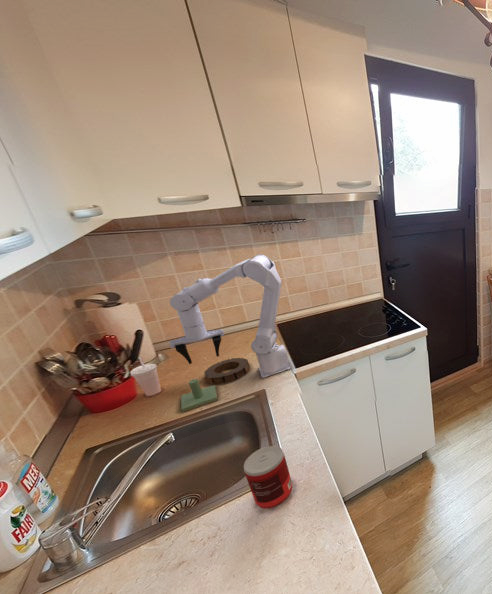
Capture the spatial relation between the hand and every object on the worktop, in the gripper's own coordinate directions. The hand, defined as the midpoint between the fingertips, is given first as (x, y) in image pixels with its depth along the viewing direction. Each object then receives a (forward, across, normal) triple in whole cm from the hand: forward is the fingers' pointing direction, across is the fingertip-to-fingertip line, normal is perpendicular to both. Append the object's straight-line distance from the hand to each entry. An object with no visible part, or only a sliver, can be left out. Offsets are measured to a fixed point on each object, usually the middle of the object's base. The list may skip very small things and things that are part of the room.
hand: (204, 358), depth 117 cm
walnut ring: (+8, -5, 0) cm, 10 cm away
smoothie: (+9, +16, -3) cm, 18 cm away
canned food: (+8, -7, +68) cm, 69 cm away
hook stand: (+8, +4, +12) cm, 15 cm away
